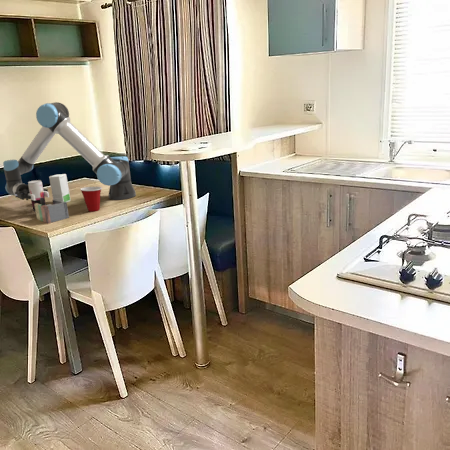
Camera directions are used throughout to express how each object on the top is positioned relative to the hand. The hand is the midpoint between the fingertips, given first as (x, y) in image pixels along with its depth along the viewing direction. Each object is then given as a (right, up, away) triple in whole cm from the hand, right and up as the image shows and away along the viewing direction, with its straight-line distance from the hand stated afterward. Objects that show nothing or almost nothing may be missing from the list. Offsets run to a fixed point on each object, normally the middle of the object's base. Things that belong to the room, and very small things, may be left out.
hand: (41, 196), depth 238 cm
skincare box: (0, -2, +30) cm, 30 cm away
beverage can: (-3, -7, +6) cm, 10 cm away
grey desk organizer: (+7, -11, -3) cm, 13 cm away
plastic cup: (+24, -7, +8) cm, 27 cm away
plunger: (+3, -10, 0) cm, 10 cm away
